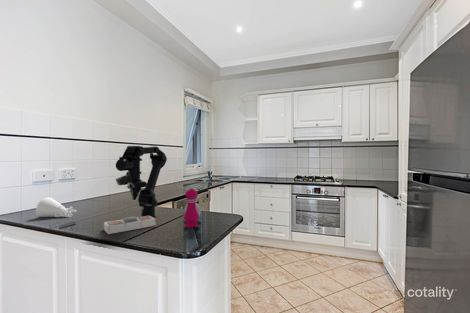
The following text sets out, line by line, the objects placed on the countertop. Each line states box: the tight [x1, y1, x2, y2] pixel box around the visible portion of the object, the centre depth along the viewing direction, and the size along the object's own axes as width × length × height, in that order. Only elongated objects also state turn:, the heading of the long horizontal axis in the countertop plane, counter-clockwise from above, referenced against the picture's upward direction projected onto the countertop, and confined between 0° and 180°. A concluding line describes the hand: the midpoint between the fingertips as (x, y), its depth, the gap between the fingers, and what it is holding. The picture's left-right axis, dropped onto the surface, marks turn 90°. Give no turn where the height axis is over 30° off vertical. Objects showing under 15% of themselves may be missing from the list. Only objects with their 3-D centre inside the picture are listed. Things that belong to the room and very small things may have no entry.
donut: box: [183, 202, 202, 217], centre depth 130 cm, size 10×4×10 cm, turn 68°
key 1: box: [108, 220, 121, 226], centre depth 112 cm, size 5×5×2 cm
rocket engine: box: [35, 196, 78, 218], centre depth 139 cm, size 12×12×18 cm
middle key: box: [123, 216, 137, 223], centre depth 116 cm, size 5×5×2 cm
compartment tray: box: [103, 216, 157, 235], centre depth 116 cm, size 21×9×3 cm, turn 129°
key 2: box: [139, 217, 151, 221], centre depth 121 cm, size 5×5×2 cm
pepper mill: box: [183, 185, 200, 229], centre depth 118 cm, size 7×7×20 cm
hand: (134, 199), depth 124 cm, fingers closed
